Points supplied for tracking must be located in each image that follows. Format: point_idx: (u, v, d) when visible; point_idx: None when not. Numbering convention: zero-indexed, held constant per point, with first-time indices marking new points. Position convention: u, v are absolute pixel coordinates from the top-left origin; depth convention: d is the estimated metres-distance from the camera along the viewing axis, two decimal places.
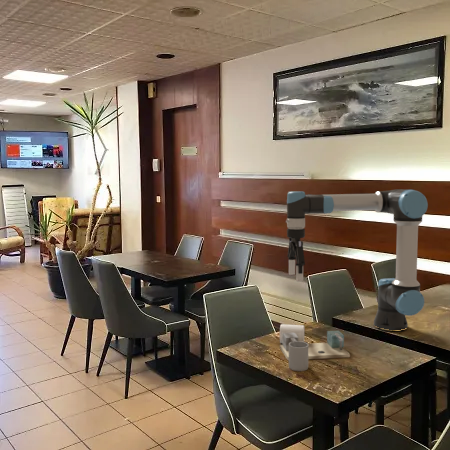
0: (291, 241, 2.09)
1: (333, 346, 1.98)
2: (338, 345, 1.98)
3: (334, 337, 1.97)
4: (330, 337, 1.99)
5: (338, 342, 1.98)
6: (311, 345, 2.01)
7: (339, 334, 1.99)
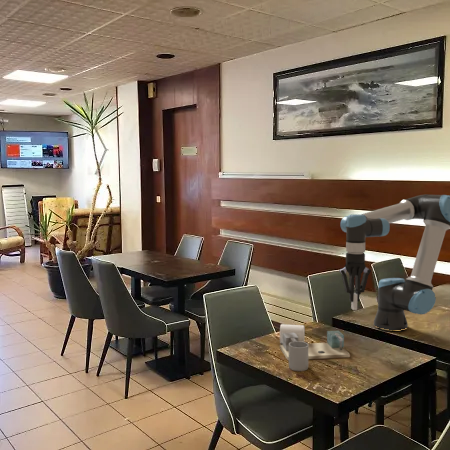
0: None
1: (333, 346, 1.98)
2: (338, 345, 1.98)
3: (334, 337, 1.97)
4: (330, 337, 1.99)
5: (338, 342, 1.98)
6: (311, 345, 2.01)
7: (339, 334, 1.99)
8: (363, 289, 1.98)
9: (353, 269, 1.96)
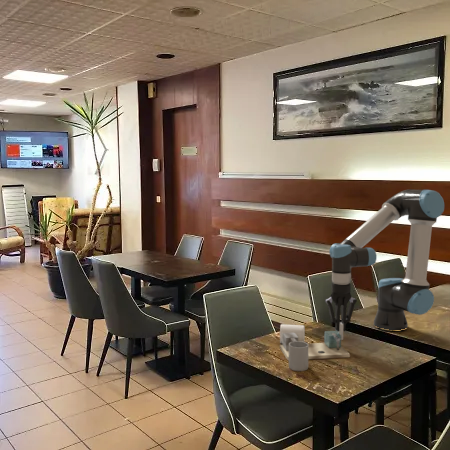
0: None
1: (330, 346, 1.97)
2: (335, 345, 1.98)
3: (331, 337, 1.97)
4: (327, 337, 1.99)
5: (335, 342, 1.98)
6: (311, 345, 2.01)
7: (336, 334, 1.99)
8: (349, 319, 1.99)
9: (339, 299, 1.97)
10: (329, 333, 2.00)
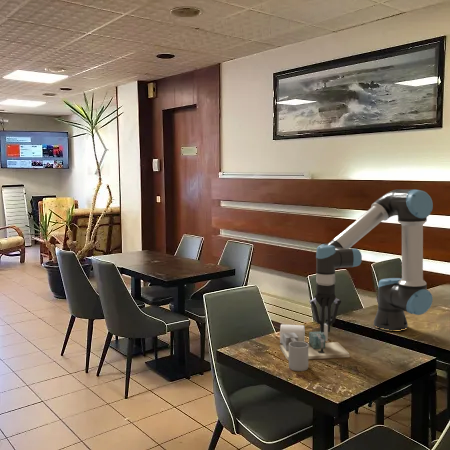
0: None
1: (315, 347, 1.97)
2: (320, 346, 1.97)
3: (316, 338, 1.96)
4: (312, 338, 1.98)
5: (320, 343, 1.97)
6: None
7: (321, 335, 1.98)
8: (333, 320, 1.98)
9: (323, 300, 1.96)
10: (314, 334, 1.99)
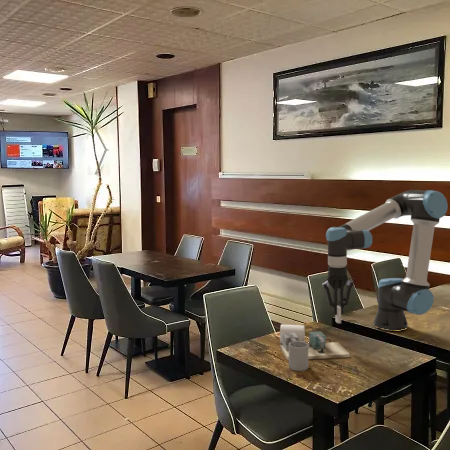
0: None
1: (315, 347, 1.97)
2: (320, 346, 1.97)
3: (315, 338, 1.96)
4: (312, 338, 1.98)
5: (320, 343, 1.97)
6: None
7: (321, 335, 1.98)
8: (346, 302, 1.98)
9: (335, 282, 1.96)
10: (314, 334, 1.99)
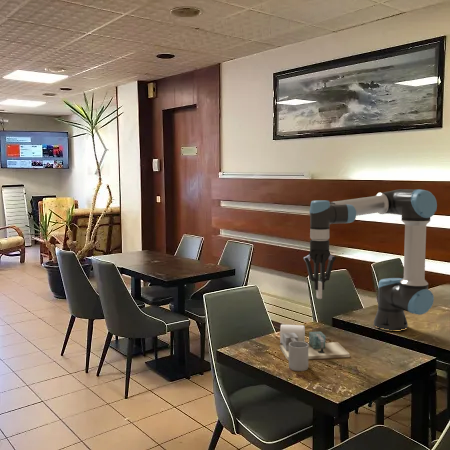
0: None
1: (315, 347, 1.97)
2: (320, 346, 1.97)
3: (315, 338, 1.96)
4: (312, 338, 1.98)
5: (320, 343, 1.97)
6: None
7: (321, 335, 1.98)
8: (328, 277, 1.93)
9: (317, 256, 1.91)
10: (314, 334, 1.99)
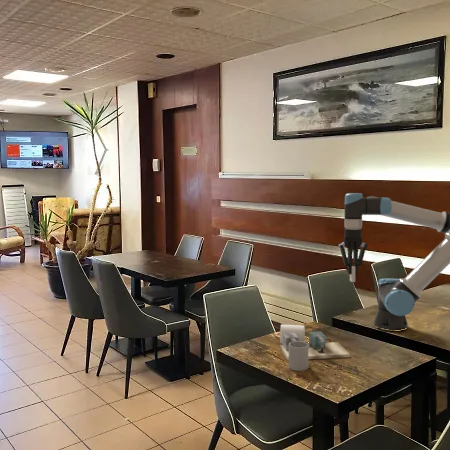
0: None
1: (315, 347, 1.97)
2: (320, 346, 1.97)
3: (315, 338, 1.96)
4: (312, 338, 1.98)
5: (320, 343, 1.97)
6: None
7: (321, 335, 1.98)
8: (360, 262, 2.14)
9: (351, 244, 2.12)
10: (314, 334, 1.99)
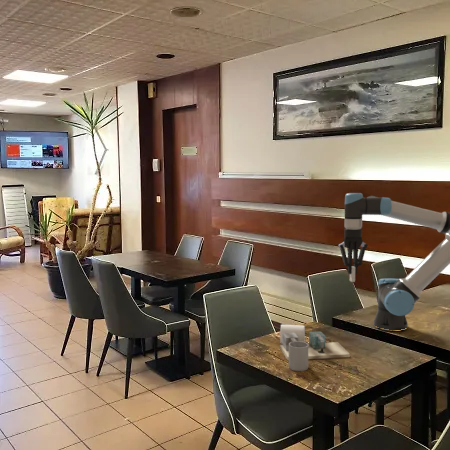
0: None
1: (315, 347, 1.97)
2: (320, 346, 1.97)
3: (315, 338, 1.96)
4: (312, 338, 1.98)
5: (320, 343, 1.97)
6: None
7: (321, 335, 1.98)
8: (360, 262, 2.14)
9: (351, 243, 2.12)
10: (314, 334, 1.99)
